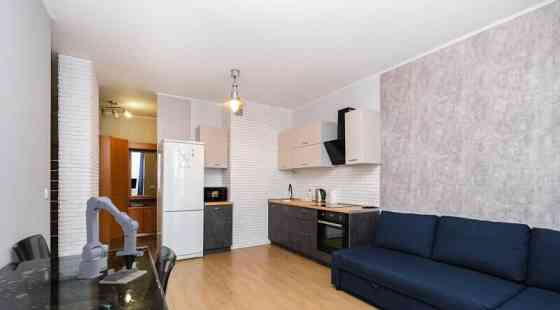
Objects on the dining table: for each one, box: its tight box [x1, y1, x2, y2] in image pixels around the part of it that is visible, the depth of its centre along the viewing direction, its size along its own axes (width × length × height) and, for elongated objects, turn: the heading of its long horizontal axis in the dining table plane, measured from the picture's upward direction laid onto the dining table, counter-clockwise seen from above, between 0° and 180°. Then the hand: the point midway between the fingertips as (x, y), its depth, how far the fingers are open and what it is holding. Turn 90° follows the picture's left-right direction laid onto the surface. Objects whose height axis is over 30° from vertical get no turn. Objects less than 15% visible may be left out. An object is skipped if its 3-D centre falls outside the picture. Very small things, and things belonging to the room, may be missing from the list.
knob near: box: [107, 268, 115, 276], centre depth 146 cm, size 2×3×2 cm, turn 173°
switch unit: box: [99, 266, 148, 285], centre depth 151 cm, size 14×19×3 cm
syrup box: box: [92, 244, 109, 273], centre depth 167 cm, size 6×6×14 cm
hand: (129, 269), depth 151 cm, fingers closed
